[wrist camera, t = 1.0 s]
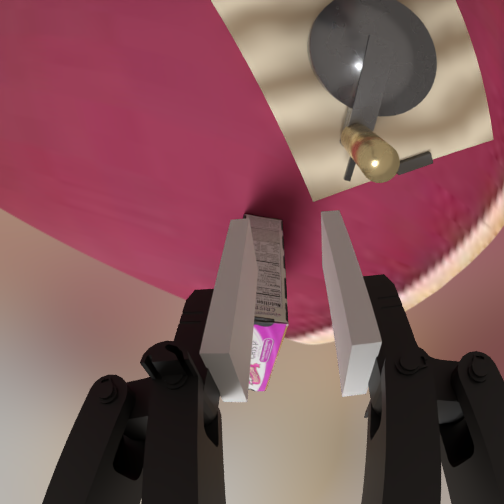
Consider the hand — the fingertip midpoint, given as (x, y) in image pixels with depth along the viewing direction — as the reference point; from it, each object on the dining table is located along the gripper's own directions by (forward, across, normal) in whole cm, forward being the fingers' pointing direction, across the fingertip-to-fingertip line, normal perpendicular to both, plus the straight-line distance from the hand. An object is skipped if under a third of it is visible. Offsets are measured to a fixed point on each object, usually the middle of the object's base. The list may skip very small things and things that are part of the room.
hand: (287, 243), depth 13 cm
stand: (+21, +11, +8) cm, 24 cm away
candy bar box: (+21, -4, -15) cm, 26 cm away
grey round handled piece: (+18, +9, +5) cm, 21 cm away
